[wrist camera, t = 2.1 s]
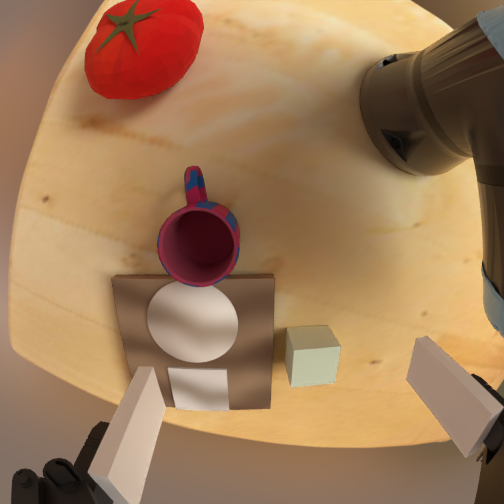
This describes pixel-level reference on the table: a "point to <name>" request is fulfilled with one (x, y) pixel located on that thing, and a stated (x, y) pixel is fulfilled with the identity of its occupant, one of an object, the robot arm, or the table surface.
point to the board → (201, 338)
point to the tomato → (143, 47)
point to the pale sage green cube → (311, 355)
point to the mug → (199, 237)
